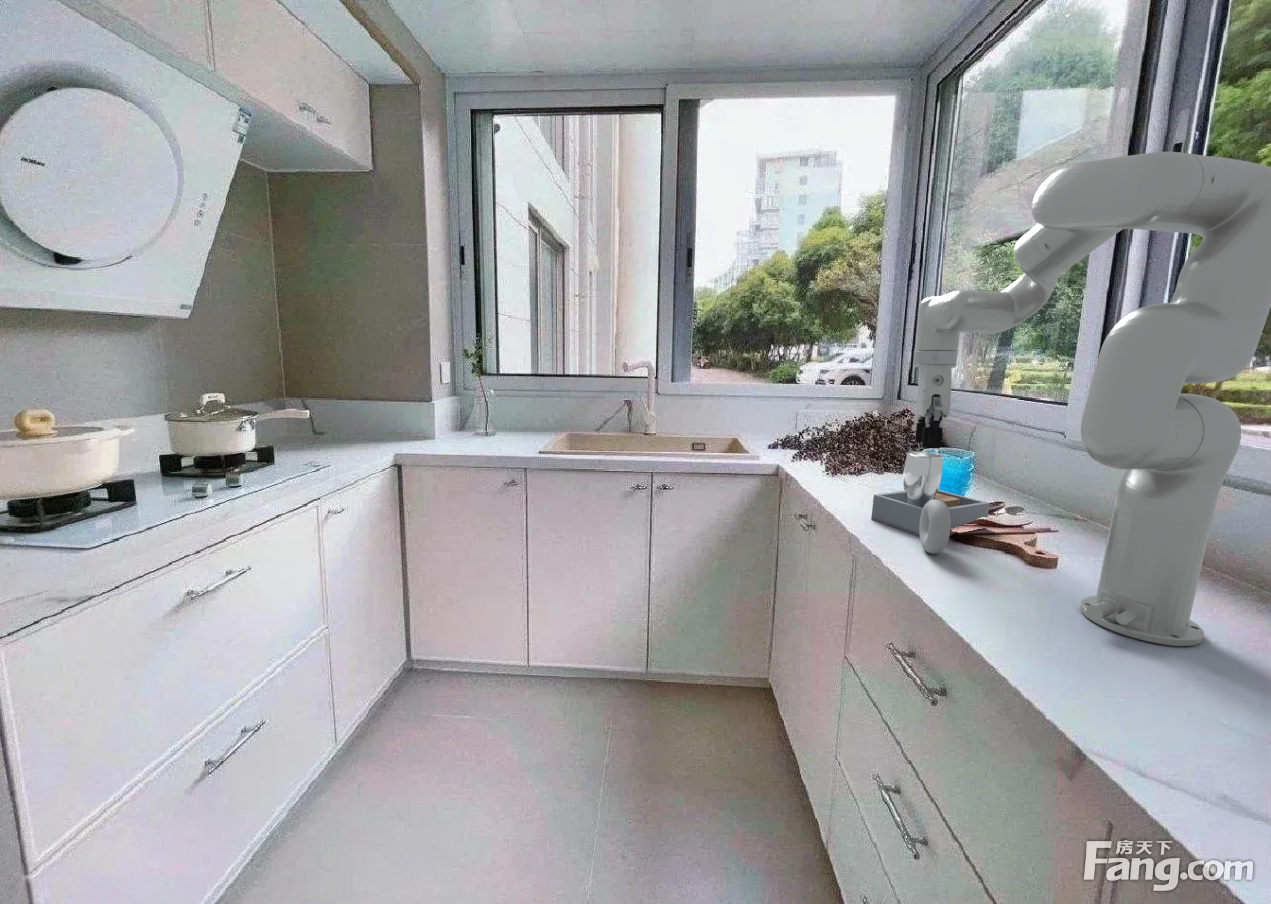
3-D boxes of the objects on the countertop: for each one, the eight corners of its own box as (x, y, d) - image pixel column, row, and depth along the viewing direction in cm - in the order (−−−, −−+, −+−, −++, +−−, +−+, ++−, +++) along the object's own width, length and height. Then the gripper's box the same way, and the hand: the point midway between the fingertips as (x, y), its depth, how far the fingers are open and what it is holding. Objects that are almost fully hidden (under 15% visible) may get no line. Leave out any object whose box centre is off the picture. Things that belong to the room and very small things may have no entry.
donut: (948, 563, 97) (956, 508, 95) (927, 561, 97) (934, 506, 96) (934, 544, 106) (941, 494, 104) (914, 542, 107) (921, 492, 105)
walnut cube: (957, 521, 119) (960, 499, 118) (941, 524, 117) (944, 501, 116) (935, 514, 123) (938, 493, 123) (920, 517, 121) (923, 495, 120)
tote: (928, 539, 109) (932, 512, 108) (871, 519, 121) (873, 494, 120) (986, 528, 116) (989, 503, 115) (926, 510, 129) (929, 487, 128)
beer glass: (939, 530, 113) (948, 458, 110) (902, 527, 114) (911, 456, 111) (928, 520, 119) (937, 452, 117) (894, 517, 121) (902, 450, 118)
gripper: (966, 359, 101) (956, 451, 104) (947, 361, 117) (940, 440, 120) (920, 359, 104) (912, 449, 106) (909, 360, 120) (902, 438, 122)
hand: (927, 444), depth 113 cm, fingers open, 9 cm apart
